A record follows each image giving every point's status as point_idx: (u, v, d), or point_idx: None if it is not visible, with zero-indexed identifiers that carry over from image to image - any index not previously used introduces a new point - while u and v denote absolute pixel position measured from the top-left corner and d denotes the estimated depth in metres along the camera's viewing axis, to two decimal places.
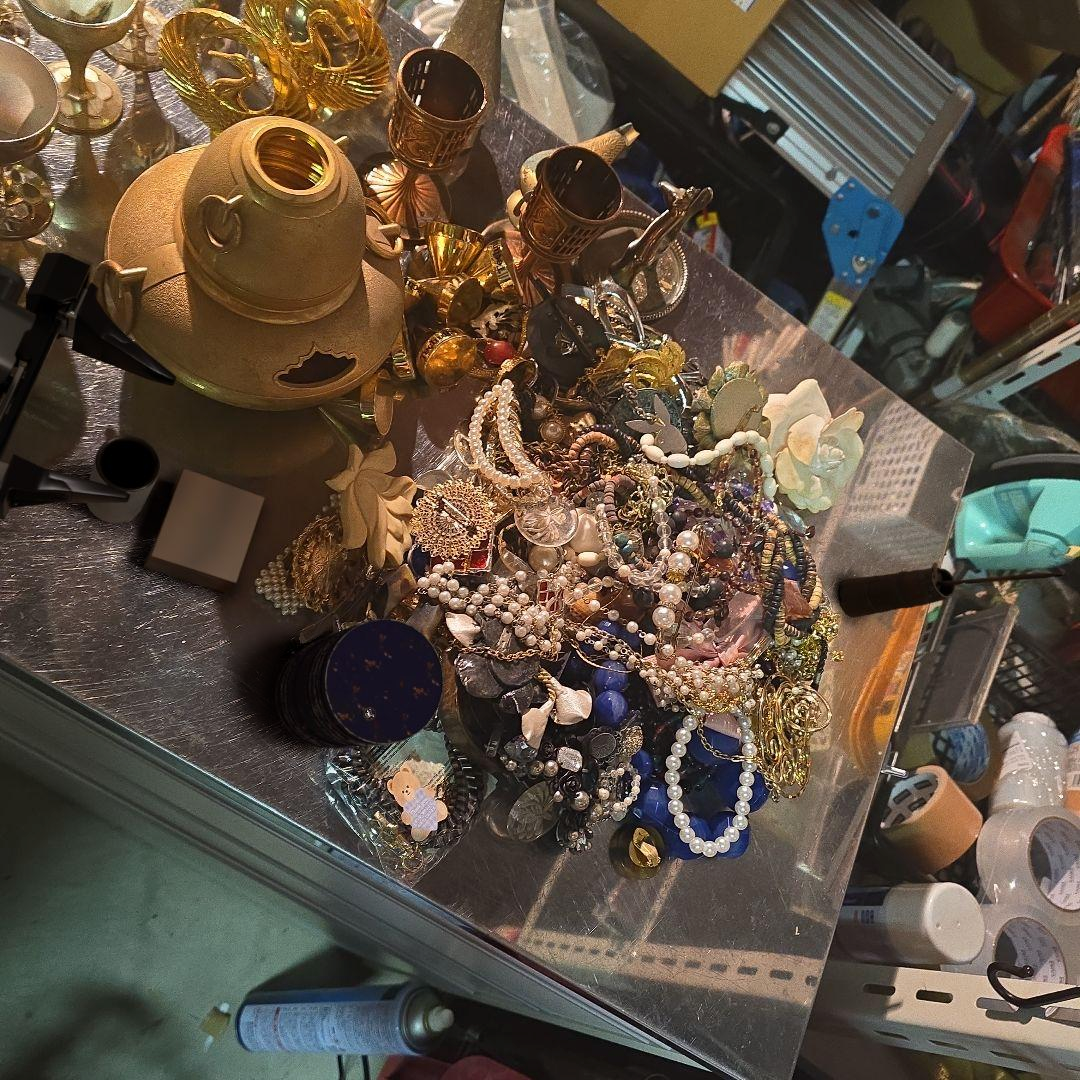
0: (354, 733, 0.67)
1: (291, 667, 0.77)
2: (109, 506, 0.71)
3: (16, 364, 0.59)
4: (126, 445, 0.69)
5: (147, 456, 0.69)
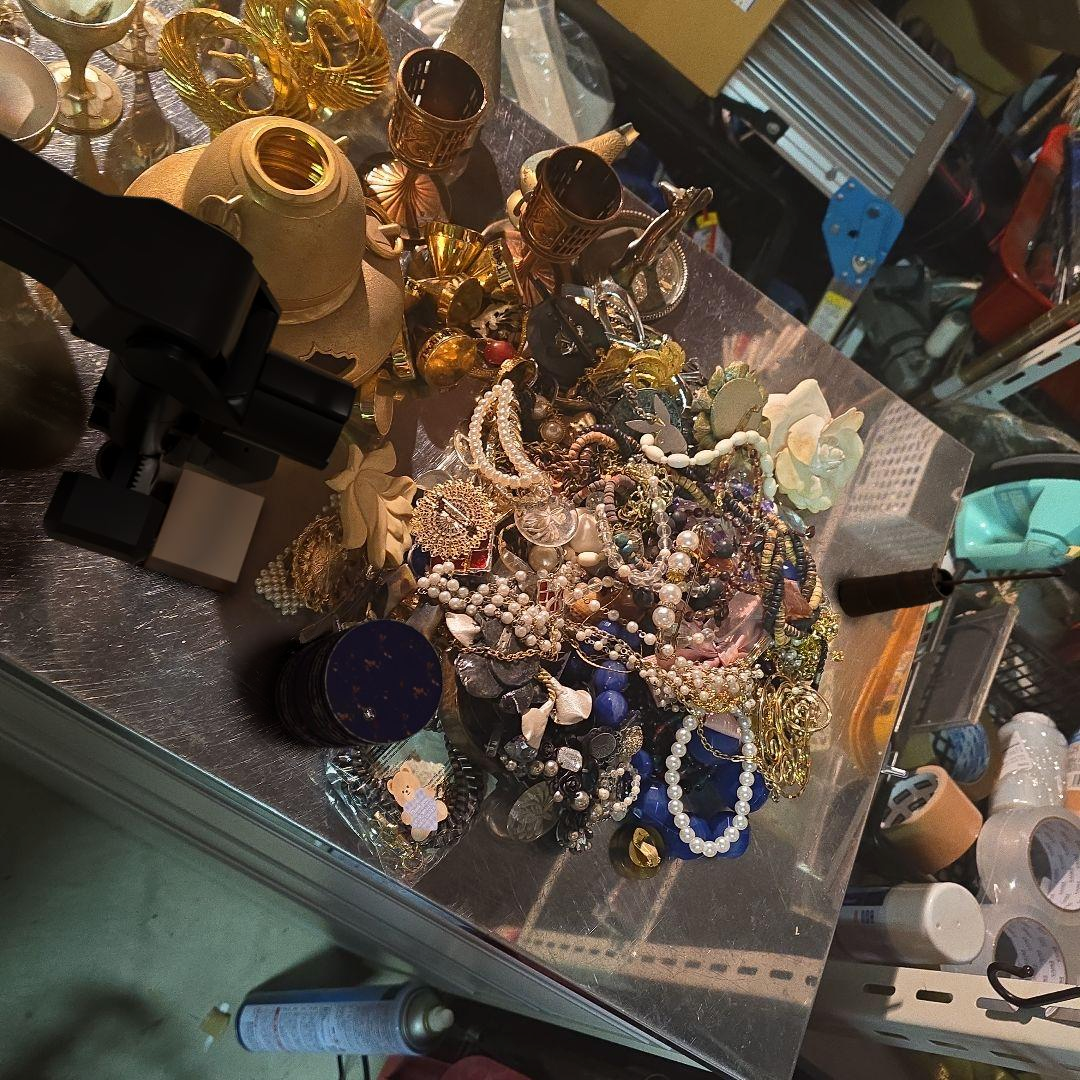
0: (354, 733, 0.67)
1: (291, 667, 0.77)
2: None
3: None
4: None
5: None
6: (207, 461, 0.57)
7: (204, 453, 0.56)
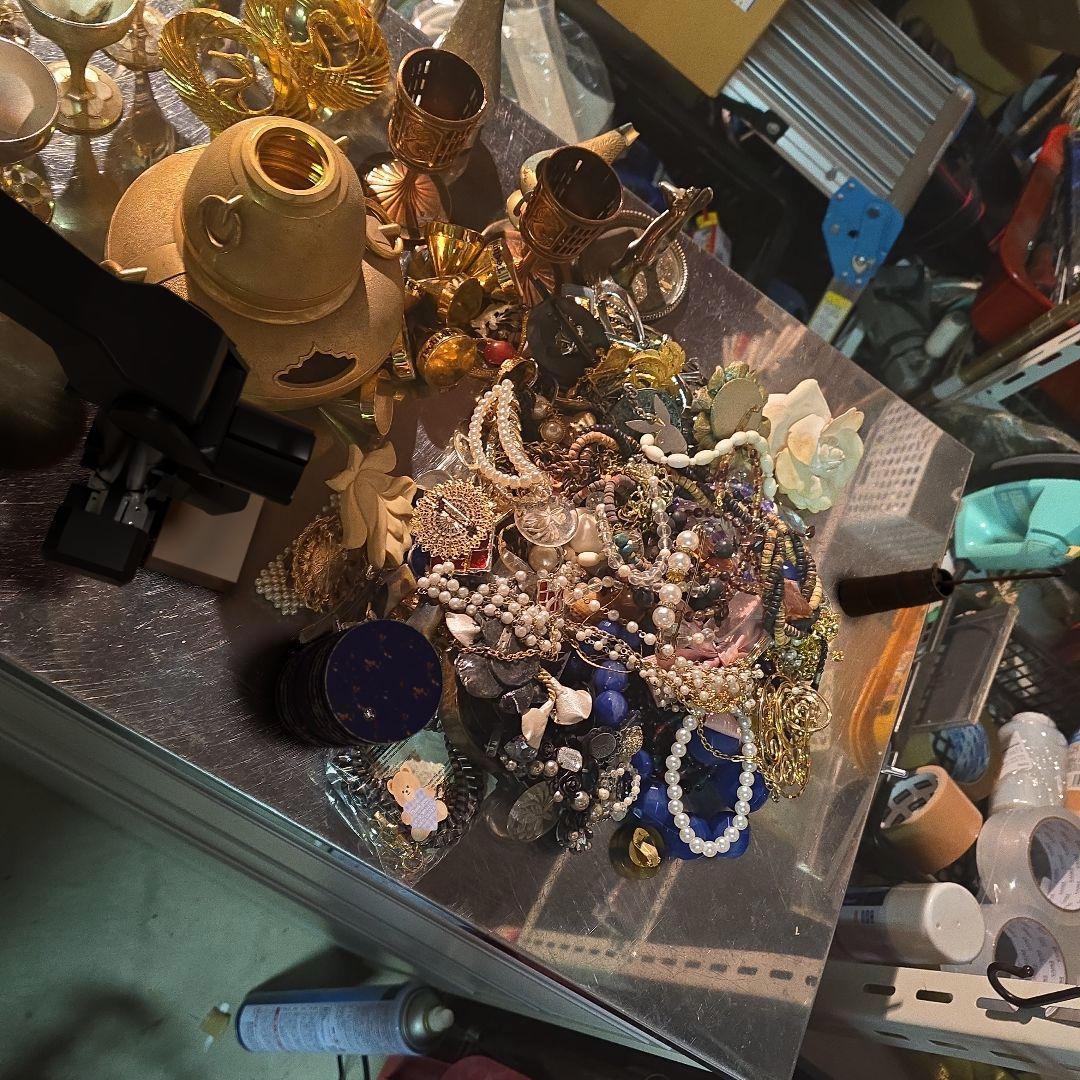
0: (354, 733, 0.67)
1: (291, 667, 0.77)
2: None
3: None
4: None
5: None
6: (186, 496, 0.64)
7: (183, 489, 0.63)
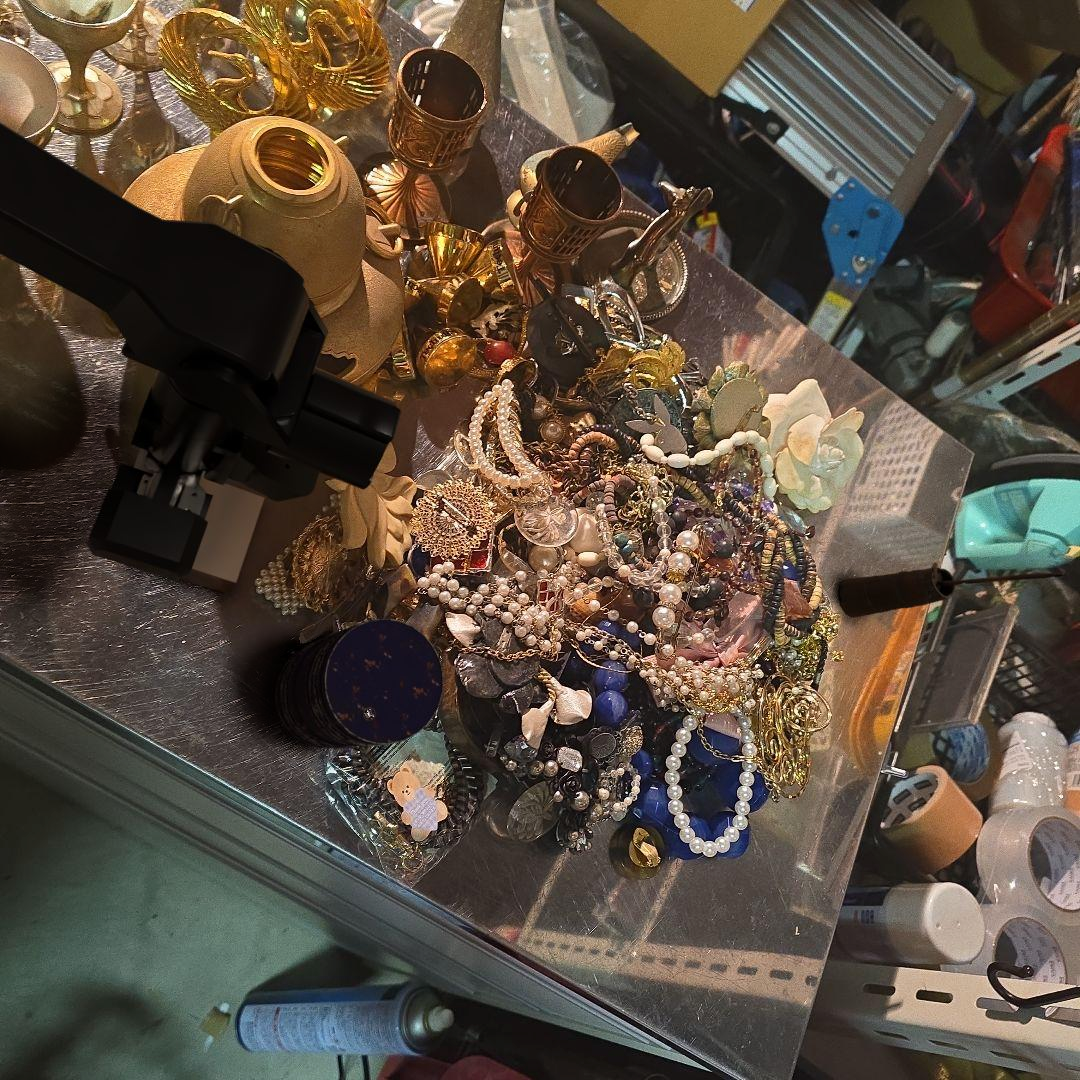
0: (354, 733, 0.67)
1: (291, 667, 0.77)
2: None
3: None
4: None
5: None
6: (249, 478, 0.57)
7: (246, 470, 0.57)
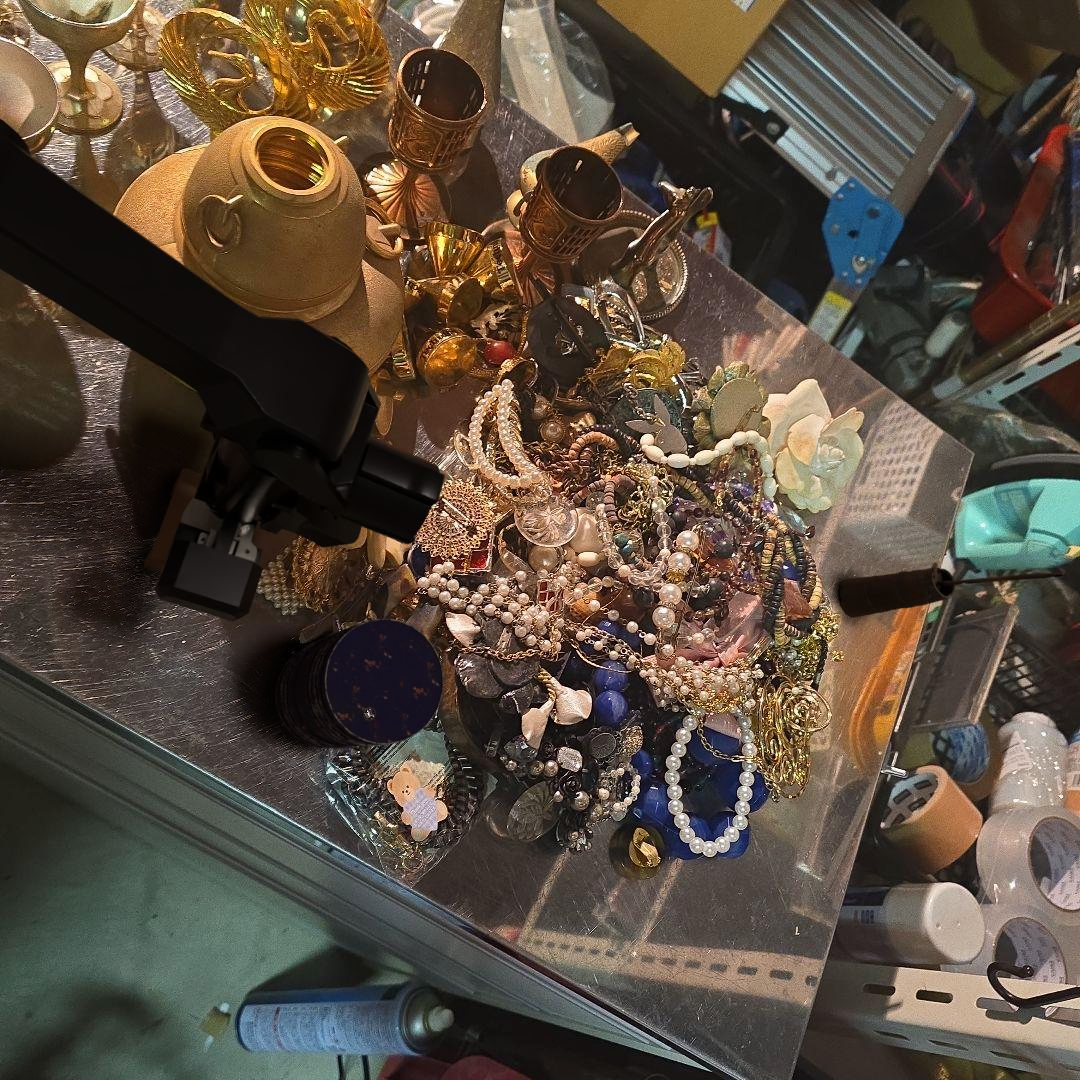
0: (354, 733, 0.67)
1: (291, 667, 0.77)
2: None
3: None
4: None
5: None
6: (301, 528, 0.63)
7: (299, 522, 0.62)
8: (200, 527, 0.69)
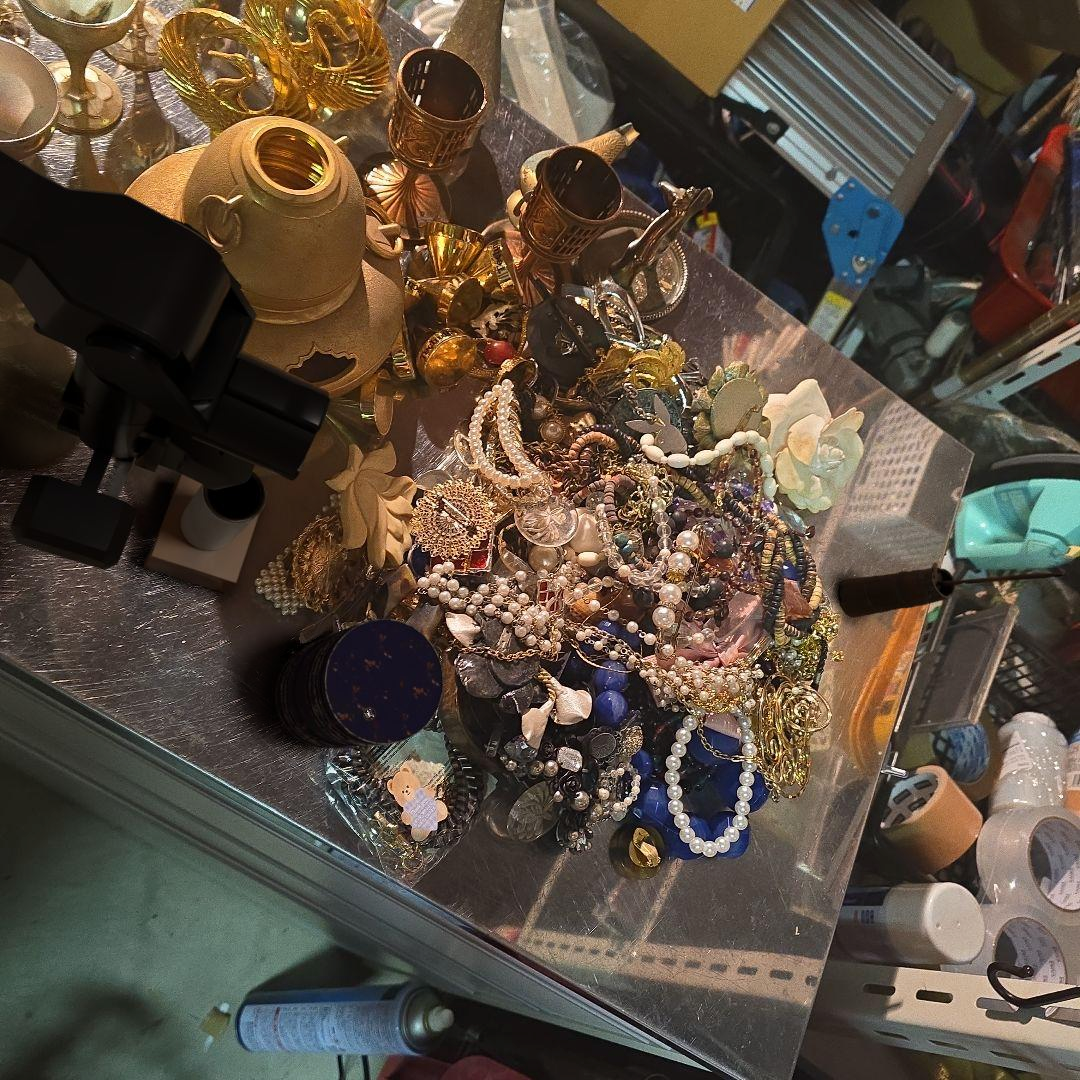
0: (354, 733, 0.67)
1: (291, 667, 0.77)
2: (210, 535, 0.69)
3: None
4: None
5: (251, 485, 0.68)
6: (181, 464, 0.56)
7: (177, 456, 0.55)
8: (200, 527, 0.69)
